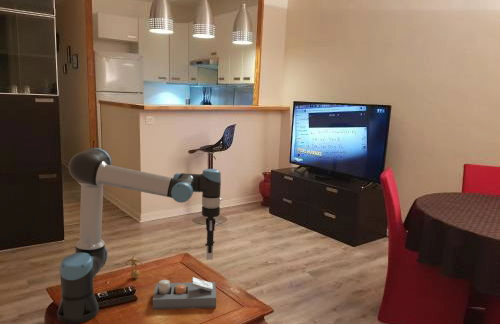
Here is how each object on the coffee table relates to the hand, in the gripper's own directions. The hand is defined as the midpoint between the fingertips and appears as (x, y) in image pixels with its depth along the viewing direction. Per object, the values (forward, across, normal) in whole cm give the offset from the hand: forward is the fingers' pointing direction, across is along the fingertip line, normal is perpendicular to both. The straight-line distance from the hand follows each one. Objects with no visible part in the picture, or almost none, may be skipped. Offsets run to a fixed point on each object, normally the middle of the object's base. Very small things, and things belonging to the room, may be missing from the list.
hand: (209, 258), depth 170 cm
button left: (+15, 0, +19) cm, 24 cm away
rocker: (+12, 0, +3) cm, 13 cm away
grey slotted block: (+19, 0, +10) cm, 21 cm away
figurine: (+19, +20, +35) cm, 45 cm away
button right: (+17, 0, +12) cm, 21 cm away
